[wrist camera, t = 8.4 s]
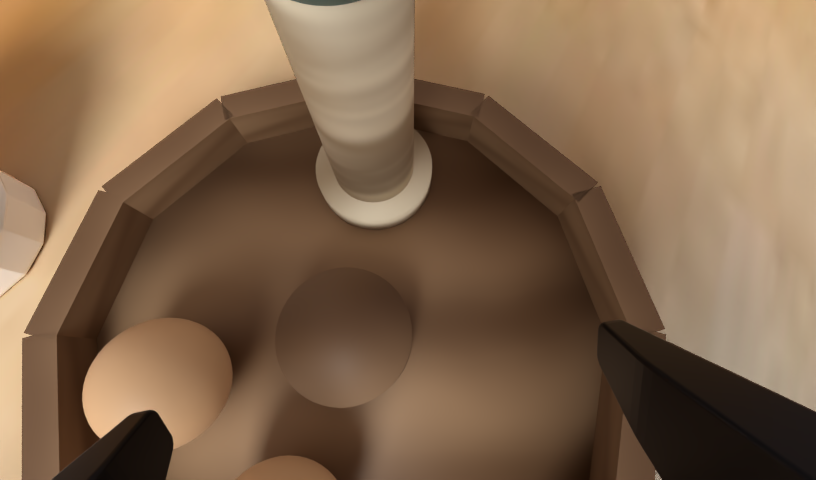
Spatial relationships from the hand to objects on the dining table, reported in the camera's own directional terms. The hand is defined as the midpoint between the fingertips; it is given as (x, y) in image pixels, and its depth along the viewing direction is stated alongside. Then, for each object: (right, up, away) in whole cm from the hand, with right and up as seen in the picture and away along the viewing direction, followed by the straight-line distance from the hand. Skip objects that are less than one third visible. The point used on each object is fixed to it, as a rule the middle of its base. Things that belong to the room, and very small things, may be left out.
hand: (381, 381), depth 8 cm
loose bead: (-8, -3, +8) cm, 12 cm away
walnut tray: (-2, -1, +10) cm, 10 cm away
